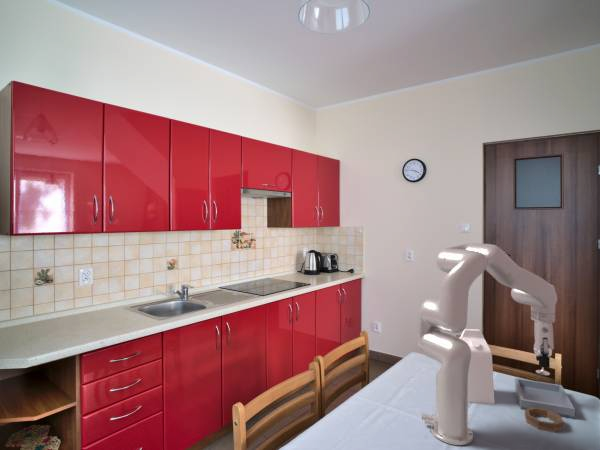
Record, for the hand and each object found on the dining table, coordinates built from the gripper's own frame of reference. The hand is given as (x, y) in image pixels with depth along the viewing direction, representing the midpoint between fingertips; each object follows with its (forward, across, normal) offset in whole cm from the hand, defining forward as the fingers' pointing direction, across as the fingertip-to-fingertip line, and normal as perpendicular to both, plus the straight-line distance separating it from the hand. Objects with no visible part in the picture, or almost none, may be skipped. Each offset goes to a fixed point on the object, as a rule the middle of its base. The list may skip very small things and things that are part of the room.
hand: (542, 363), depth 137 cm
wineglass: (+4, 0, 0) cm, 4 cm away
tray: (+15, +1, 0) cm, 15 cm away
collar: (+15, -16, +2) cm, 22 cm away
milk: (+15, -5, +24) cm, 29 cm away
